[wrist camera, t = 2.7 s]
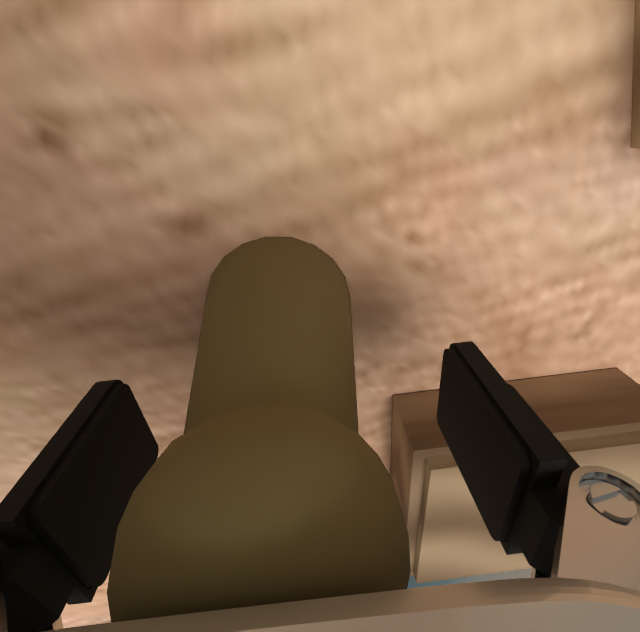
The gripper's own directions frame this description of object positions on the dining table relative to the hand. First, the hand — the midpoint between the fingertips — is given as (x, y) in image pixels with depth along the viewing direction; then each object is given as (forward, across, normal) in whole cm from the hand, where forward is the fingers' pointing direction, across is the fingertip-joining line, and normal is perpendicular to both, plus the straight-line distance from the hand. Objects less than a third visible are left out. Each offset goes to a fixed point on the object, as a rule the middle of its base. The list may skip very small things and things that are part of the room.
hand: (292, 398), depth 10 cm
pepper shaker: (+5, 0, -1) cm, 5 cm away
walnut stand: (+6, -10, +11) cm, 16 cm away
